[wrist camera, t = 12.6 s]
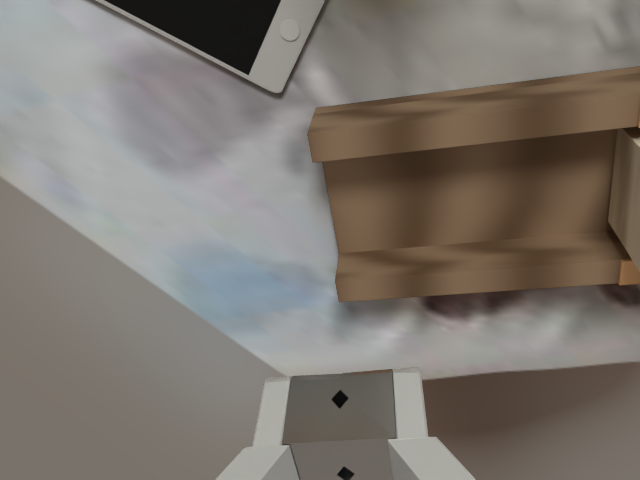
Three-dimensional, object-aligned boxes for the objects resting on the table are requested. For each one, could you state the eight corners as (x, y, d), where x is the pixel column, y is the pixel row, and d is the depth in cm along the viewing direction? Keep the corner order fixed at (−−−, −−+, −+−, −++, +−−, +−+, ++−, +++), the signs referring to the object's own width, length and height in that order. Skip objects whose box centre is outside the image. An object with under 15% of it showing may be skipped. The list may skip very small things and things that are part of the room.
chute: (343, 265, 39) (338, 304, 35) (315, 108, 33) (306, 135, 30) (702, 236, 35) (737, 277, 31) (740, 53, 29) (788, 78, 26)
